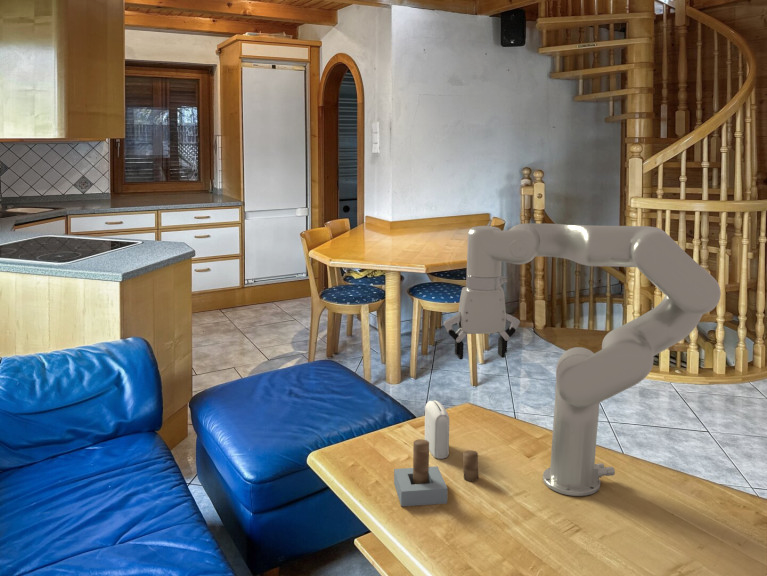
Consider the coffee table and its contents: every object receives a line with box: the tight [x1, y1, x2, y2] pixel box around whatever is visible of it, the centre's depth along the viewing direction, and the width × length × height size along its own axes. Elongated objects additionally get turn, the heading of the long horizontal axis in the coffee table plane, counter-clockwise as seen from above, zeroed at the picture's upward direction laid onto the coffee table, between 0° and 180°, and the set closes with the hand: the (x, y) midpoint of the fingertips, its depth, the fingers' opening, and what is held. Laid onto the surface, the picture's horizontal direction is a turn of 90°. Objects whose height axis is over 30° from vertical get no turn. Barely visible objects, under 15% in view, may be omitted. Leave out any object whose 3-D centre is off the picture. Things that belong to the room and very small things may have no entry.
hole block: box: [393, 465, 448, 507], centre depth 150 cm, size 10×10×4 cm
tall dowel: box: [412, 438, 430, 485], centre depth 149 cm, size 3×3×12 cm
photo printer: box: [424, 400, 450, 459], centre depth 170 cm, size 10×4×12 cm, turn 12°
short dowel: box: [462, 449, 480, 482], centre depth 157 cm, size 3×3×6 cm
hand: (480, 356), depth 154 cm, fingers open, 9 cm apart
